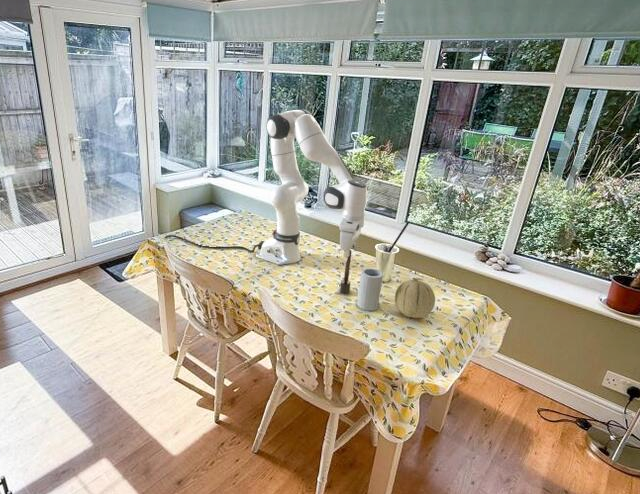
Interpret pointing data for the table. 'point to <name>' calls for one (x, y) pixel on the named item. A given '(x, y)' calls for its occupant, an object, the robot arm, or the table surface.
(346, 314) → the table surface
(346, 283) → the brown pestle
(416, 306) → the cantaloupe
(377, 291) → the grey hollow cylinder
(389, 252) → the glass
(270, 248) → the robot arm
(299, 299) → the table surface
